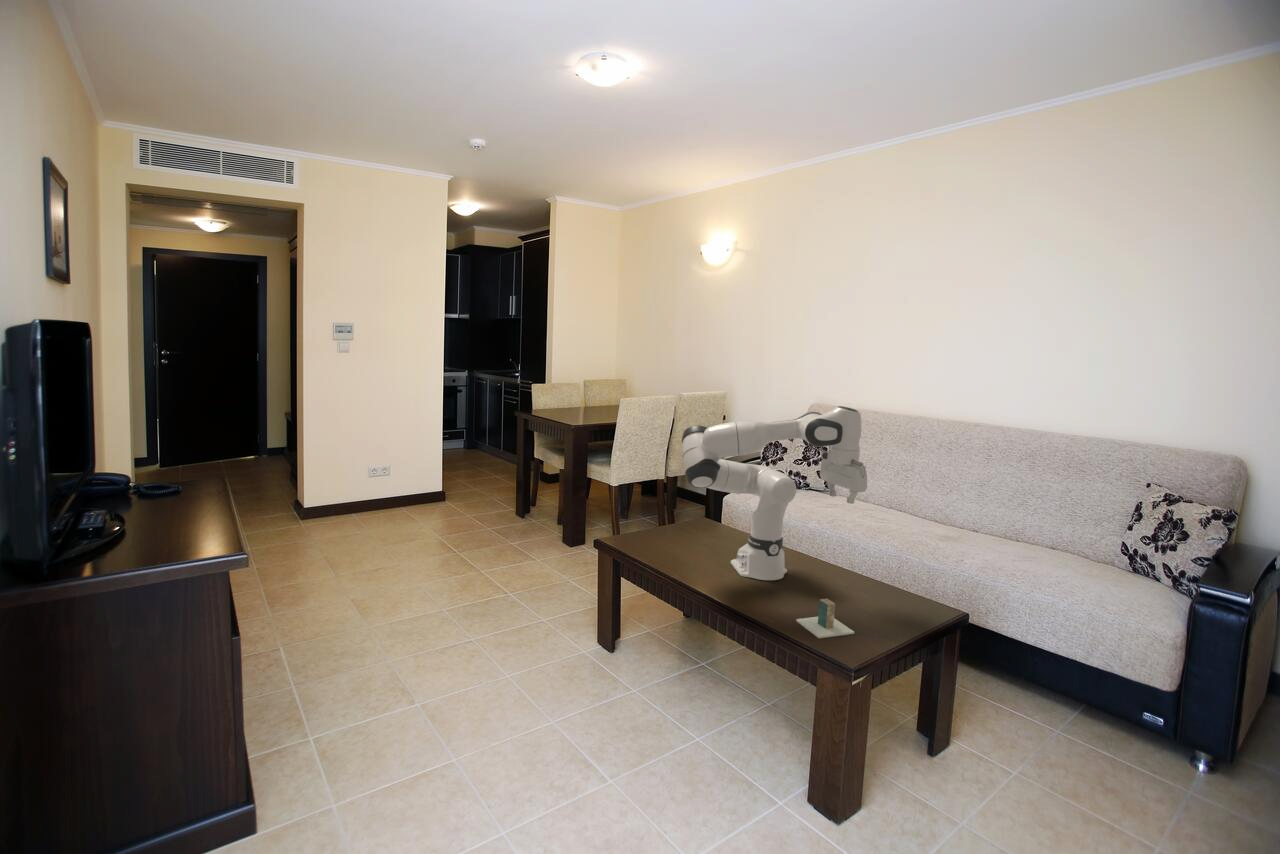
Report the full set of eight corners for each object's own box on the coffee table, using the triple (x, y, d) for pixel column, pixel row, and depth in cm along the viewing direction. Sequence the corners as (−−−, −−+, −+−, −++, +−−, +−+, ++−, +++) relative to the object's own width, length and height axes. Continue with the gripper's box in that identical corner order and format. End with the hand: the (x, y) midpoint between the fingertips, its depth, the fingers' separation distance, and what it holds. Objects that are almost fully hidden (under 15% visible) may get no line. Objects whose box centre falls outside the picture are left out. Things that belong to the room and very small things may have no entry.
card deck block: (825, 629, 191) (827, 604, 190) (817, 623, 195) (819, 599, 194) (833, 628, 192) (835, 603, 191) (825, 622, 196) (827, 598, 195)
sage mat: (796, 621, 198) (796, 619, 198) (829, 616, 202) (829, 615, 201) (819, 638, 186) (819, 636, 186) (854, 633, 190) (854, 631, 190)
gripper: (874, 463, 200) (870, 507, 202) (834, 451, 219) (831, 492, 221) (856, 463, 198) (853, 508, 200) (818, 452, 217) (815, 492, 219)
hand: (841, 499), depth 210 cm, fingers open, 8 cm apart
